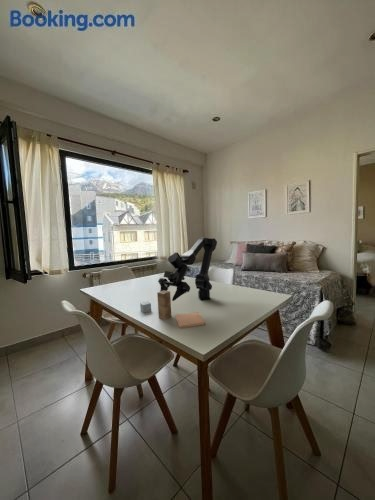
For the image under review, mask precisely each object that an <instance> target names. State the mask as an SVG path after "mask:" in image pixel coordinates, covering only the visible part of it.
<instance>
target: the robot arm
mask: <svg viewBox="0 0 375 500" xmlns="http://www.w3.org/2000/svg"><path fill="white" fill-rule="evenodd" d="M217 245H218V241H217V240H216V238H213V237H212V238H208V237H206V236H204V237H202V236H201V237H198V239H197V241H196V242H195V243H194V244H193V246H192V247H190V249H188V250H187V251H186V252H183V254H181V255H180V254H179V252H174V253H173V254H171V255H170V256H168V258H167V262H168V263H169V264H170V265H171V266H172V267H173V268H174V269H175V270H173V271H170V270H169V271H168V270H165V271H164V274H163V277H160V278H159V279H158V281H157V282H158V284H159V285H160V290H159V292H160V291H163V290H165V291H168V290H169V288H170V287H175V288H176V290H175V292H174V294H173V296H172V299H171V300H172V301H173V302H174V301H176V300H177V299H178V298H180V297H181V296H183V295H185V294H187V293H190V290H191V286H190V285H189V284H188V283H187V282H186V281H184V280H186V278H185V276H186V274H187V272H191V269H190V266H192V265H194V263H195V261H196V260H197V255H198V254H199V253H200V251H201V250H202V249H203V250H204V252H203V256H202V257H203V258H202V261H201V262H202V263H201V266H200V272H199V273H197V274H196V275H195V278H194V284H195V288H196V289H198V291H197V293H198V294H197V295H198V296H197V298H198V299H200V301H205V300H207V301H208V300H212V299H211V294H210V293H211V290H212V288H213V285H212V284H211V282H210V276H209V270H210V265H211V261H212V255H213V252H214V251H215V250H216V247H217ZM188 265H189V266H188ZM172 301H171V302H172Z"/></svg>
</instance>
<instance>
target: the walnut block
mask: <svg viewBox="0 0 375 500" xmlns="http://www.w3.org/2000/svg"><path fill="white" fill-rule="evenodd" d="M156 293H157V294H156V296H157V311H158V318H159V319H161V320H163V321H165V320H168V319H170V318H171V317H172V301H171V300H172V299H171V291H170V290H169V291H168V290H167V291H165V290H163V291H160V290H159V291H158V292H156Z"/></svg>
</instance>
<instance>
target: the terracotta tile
mask: <svg viewBox="0 0 375 500" xmlns="http://www.w3.org/2000/svg"><path fill="white" fill-rule="evenodd" d="M174 317H175V320H176V323H177V326H178V328H179V329H182V328H188V327H189V328H190V327H195V326H196V327H197V326H203V325H206V321H205V320H204V319H203V317H202V316H201V314H200V313H199V312H192V313H191V312H190V313H181V314H175V315H174Z"/></svg>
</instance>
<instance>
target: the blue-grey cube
mask: <svg viewBox="0 0 375 500" xmlns="http://www.w3.org/2000/svg"><path fill="white" fill-rule="evenodd" d="M139 306H140V312H141V313H143V314H146V313H149V312H152V303H151V302H150V301H148V300H147V301H142V302H140V305H139ZM145 312H146V313H145Z"/></svg>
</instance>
